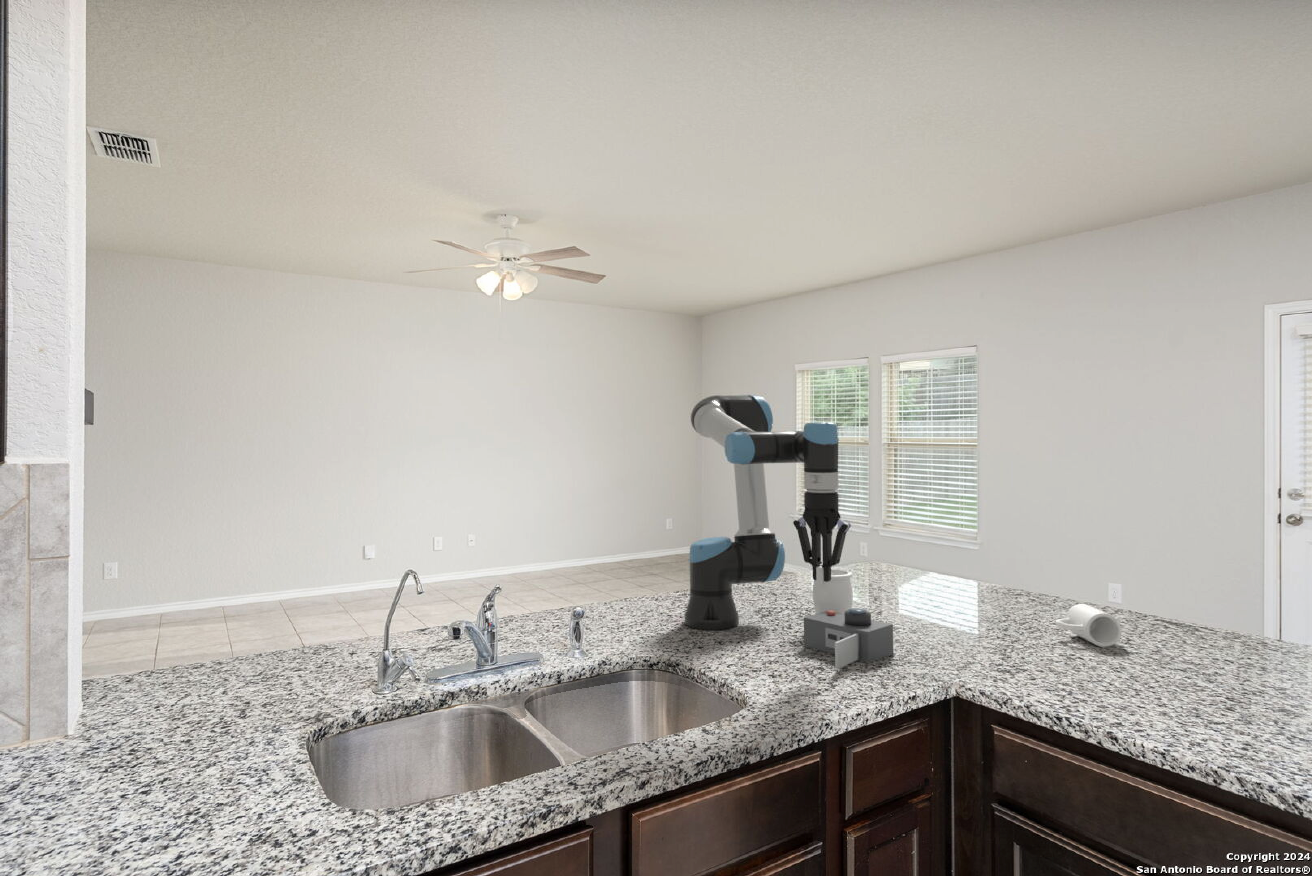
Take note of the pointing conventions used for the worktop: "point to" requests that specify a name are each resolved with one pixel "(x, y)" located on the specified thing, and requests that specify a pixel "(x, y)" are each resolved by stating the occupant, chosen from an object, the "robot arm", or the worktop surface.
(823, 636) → the camera body
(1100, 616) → the mug
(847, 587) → the jar
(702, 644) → the worktop surface
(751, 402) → the robot arm
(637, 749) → the worktop surface
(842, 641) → the side door
